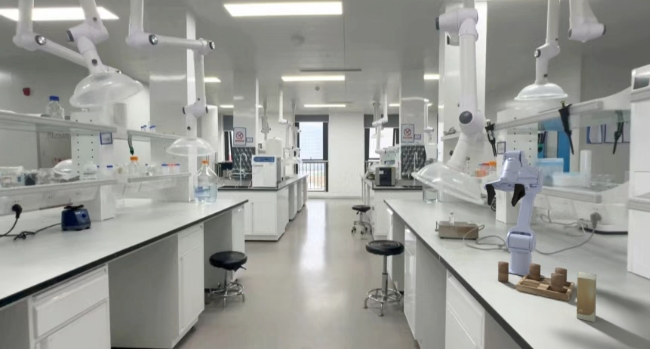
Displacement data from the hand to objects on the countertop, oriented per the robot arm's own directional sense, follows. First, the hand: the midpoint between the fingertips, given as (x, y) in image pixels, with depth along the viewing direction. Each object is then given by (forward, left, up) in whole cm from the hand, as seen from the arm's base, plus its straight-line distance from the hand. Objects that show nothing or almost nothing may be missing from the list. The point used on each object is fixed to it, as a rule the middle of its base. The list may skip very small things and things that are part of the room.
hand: (500, 204), depth 118 cm
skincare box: (+5, +24, -31) cm, 39 cm away
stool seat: (-13, +11, -30) cm, 35 cm away
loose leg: (-12, -2, -31) cm, 33 cm away
